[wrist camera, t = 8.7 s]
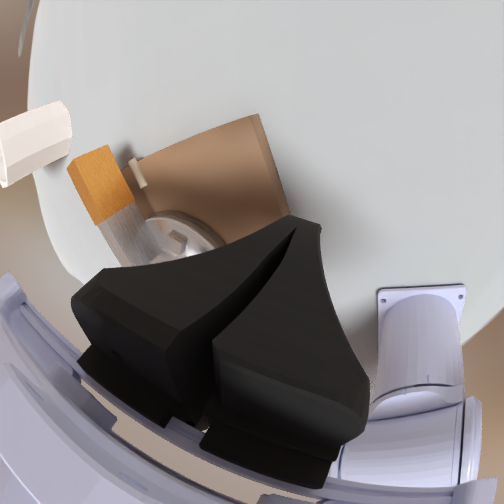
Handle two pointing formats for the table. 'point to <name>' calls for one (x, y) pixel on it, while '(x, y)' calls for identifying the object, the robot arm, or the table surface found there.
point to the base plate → (213, 180)
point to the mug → (33, 141)
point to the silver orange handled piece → (134, 216)
